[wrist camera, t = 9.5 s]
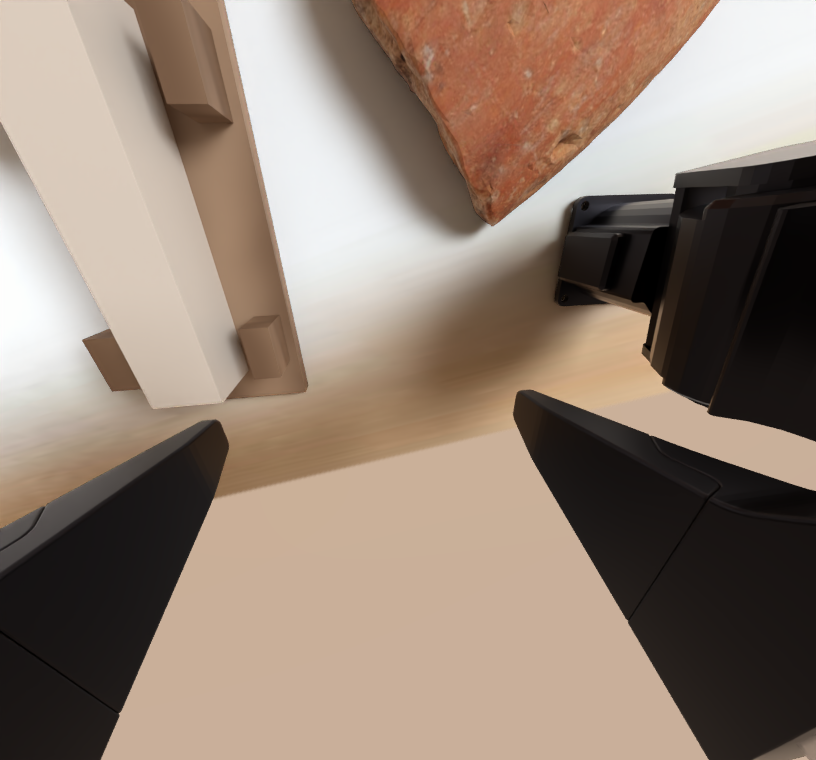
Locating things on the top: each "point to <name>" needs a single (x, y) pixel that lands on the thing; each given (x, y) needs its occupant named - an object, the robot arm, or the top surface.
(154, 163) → the clay strip
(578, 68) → the ceramic shard
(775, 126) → the top surface
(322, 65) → the top surface
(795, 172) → the robot arm
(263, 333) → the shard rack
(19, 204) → the top surface
